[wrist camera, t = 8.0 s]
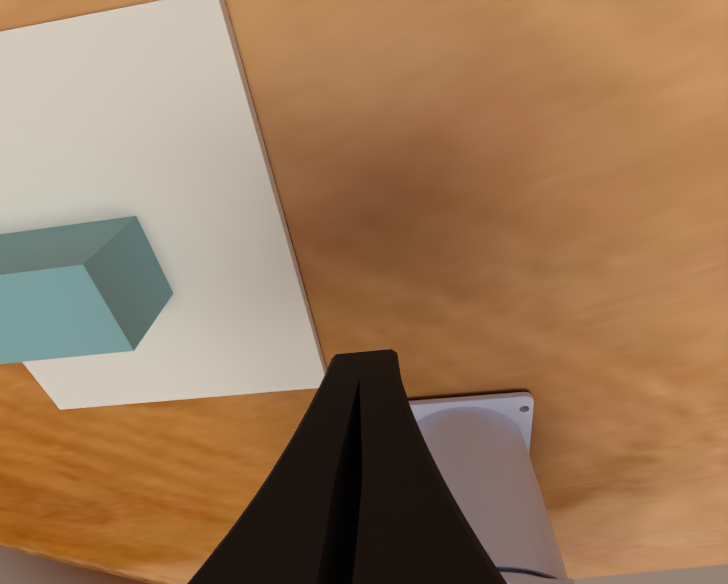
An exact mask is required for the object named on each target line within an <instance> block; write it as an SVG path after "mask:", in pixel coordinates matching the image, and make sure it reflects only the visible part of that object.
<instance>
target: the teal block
mask: <svg viewBox="0 0 728 584" xmlns="http://www.w3.org/2000/svg"><path fill="white" fill-rule="evenodd" d="M172 295H173V291H172V289H171V287H170V285H169V283H168V281H167V279H166V277H165V275H164V273H163V271H162V268H161V266H160V264H159V262H158V260H157V258H156V256H155V254H154V252H153V250H152V248H151V246H150V243H149V241H148V239H147V237H146V235H145V233H144V231H143V229H142V227H141V225H140V223H139V221H138V218H137V216H131V217H124V218H116V219H109V220H102V221H94V222H87V223H80V224H72V225H65V226H58V227H50V228H43V229H36V230H28V231H21V232H14V233H6V234H0V364H6V363H16V362H26V361H36V360H46V359H56V358H67V357H77V356H87V355H97V354H107V353H117V352H127V351H134V350H135V349H136V347H137V346H138V344H139V343H140V341H141V340H142V339H143V337H144V336H145V334H146V333H147V331H148V330H149V328H150V327H151V325H152V324H153V323H154V321H155V320H156V318H157V317H158V315H159V314H160V312H161V311H162V309H163V308H164V307H165V305H166V304H167V302H168V301H169V299H170V298H171V296H172Z"/></svg>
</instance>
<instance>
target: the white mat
mask: <svg viewBox="0 0 728 584" xmlns="http://www.w3.org/2000/svg"><path fill="white" fill-rule="evenodd" d="M131 216H137V218H138V221H139V223H140V225H141V227H142V229H143V231H144V233H145V235H146V237H147V239H148V241H149V243H150V246H151V248H152V250H153V252H154V254H155V256H156V258H157V260H158V262H159V264H160V266H161V268H162V271H163V273H164V275H165V277H166V279H167V281H168V283H169V285H170V287H171V289H172V291H173V295H172V296H171V298H170V299H169V301H168V302H167V304H166V305H165V307H164V308H163V309H162V311H161V312H160V314H159V315H158V317H157V318H156V320H155V321H154V323H153V324H152V325H151V327H150V328H149V330H148V331H147V333H146V334H145V336H144V337H143V339H142V340H141V341H140V343H139V344H138V346H137V347H136V349H135V350H134V351H127V352H117V353H107V354H97V355H87V356H77V357H67V358H56V359H46V360H36V361H26V362H23V364H24V365H25V366H26V367H27V369H28V370H29V371H30V372H31V374H32V375H33V376H34V377H35V379H36V380H37V381H38V382H39V384H40V385H41V386H42V387H43V389H44V390H45V391H46V393H47V394H48V395H49V396H50V398H51V399H52V400H53V401H54V403H55V404H56V405H57V406H58V408H59V409H60V410H62V409H74V408H86V407H97V406H109V405H121V404H133V403H145V402H157V401H168V400H180V399H192V398H204V397H216V396H228V395H240V394H251V393H263V392H275V391H287V390H299V389H311V388H319V386H320V384H321V382H322V380H323V378H324V376H325V374H326V371H327V369H326V366H325V362H324V358H323V355H322V351H321V348H320V344H319V340H318V337H317V333H316V329H315V326H314V322H313V319H312V315H311V311H310V308H309V304H308V301H307V297H306V293H305V290H304V286H303V282H302V279H301V275H300V272H299V268H298V264H297V261H296V257H295V254H294V250H293V246H292V243H291V239H290V235H289V232H288V228H287V225H286V221H285V217H284V214H283V210H282V206H281V203H280V199H279V196H278V192H277V188H276V185H275V181H274V178H273V174H272V170H271V167H270V163H269V159H268V156H267V152H266V149H265V145H264V141H263V138H262V134H261V130H260V127H259V123H258V120H257V116H256V112H255V109H254V105H253V102H252V98H251V94H250V91H249V87H248V83H247V80H246V76H245V73H244V69H243V65H242V62H241V58H240V54H239V51H238V47H237V44H236V40H235V36H234V33H233V29H232V26H231V22H230V18H229V15H228V11H227V7H226V4H225V0H160V1H155V2H150V3H145V4H140V5H135V6H129V7H124V8H119V9H114V10H109V11H104V12H99V13H94V14H88V15H83V16H78V17H73V18H68V19H63V20H58V21H52V22H47V23H42V24H37V25H32V26H27V27H22V28H17V29H11V30H6V31H1V32H0V234H6V233H14V232H21V231H28V230H36V229H43V228H50V227H58V226H65V225H72V224H80V223H87V222H94V221H102V220H109V219H116V218H124V217H131Z"/></svg>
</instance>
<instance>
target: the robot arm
mask: <svg viewBox="0 0 728 584" xmlns="http://www.w3.org/2000/svg"><path fill="white" fill-rule="evenodd" d="M522 406H524V407H522ZM533 407H534V400H533V397H532V395H531V394H530V393H528V392H516V393H504V394H491V395H478V396H466V397H453V398H440V399H428V400H415V401H408V399H407V396H406V393H405V390H404V386H403V383H402V380H401V375H400V369H399V362H398V355H397V353H396V352H395V351H393V350H392V349H389V350H378V351H368V352H357V353H346V354H336V355H335V356H334V357H333V358H332V360H331V362H330V364H329V367H328V369H327V371H326V374H325V376H324V378H323V380H322V382H321V384H320V386H319V388H318V390H317V392H316V394H315V396H314V398H313V400H312V402H311V404H310V406H309V408H308V410H307V412H306V413H305V415H304V417H303V419H302V421H301V423H300V424H299V426H298V428H297V430H296V432H295V433H294V435H293V437H292V439H291V440H290V442H289V444H288V445H287V447H286V449H285V450H284V452H283V453H282V455H281V457H280V458H279V460H278V461H277V463H276V465H275V466H274V468H273V469H272V471H271V473H270V474H269V476H268V477H267V479H266V480H265V482H264V483H263V485H262V486H261V488H260V489H259V491H258V492H257V494H256V495H255V497H254V498H253V500H252V501H251V502H250V504H249V505H248V507H247V508H246V509H245V511H244V512H243V514H242V515H241V516H240V518H239V519H238V520H237V522H236V523H235V524H234V526H233V527H232V529H231V530H230V531H229V532H228V534H227V535H226V536H225V538H224V539H223V540H222V541H221V543H220V544H219V545H218V546H217V548H216V549H215V550H214V551H213V553H212V554H211V555H210V557H209V558H208V559H207V560H206V562H205V563H204V564H203V565H202V567H201V568H200V569H199V570H198V571H197V573H196V574H195V575H194V576H193V578H192V579H191V580H190V581H189V582H188V583H187V584H574V580H573V579H571V578H568V576H567V573H566V570H565V567H564V563H563V560H562V557H561V554H560V551H559V548H558V544H557V541H556V538H555V535H554V532H553V529H552V526H551V522H550V519H549V516H548V513H547V510H546V507H545V503H544V500H543V497H542V494H541V491H540V488H539V485H538V481H537V478H536V475H535V472H534V469H533V466H532V462H531V459H530V456H529V452H530V440H531V429H532V418H533Z"/></svg>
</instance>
